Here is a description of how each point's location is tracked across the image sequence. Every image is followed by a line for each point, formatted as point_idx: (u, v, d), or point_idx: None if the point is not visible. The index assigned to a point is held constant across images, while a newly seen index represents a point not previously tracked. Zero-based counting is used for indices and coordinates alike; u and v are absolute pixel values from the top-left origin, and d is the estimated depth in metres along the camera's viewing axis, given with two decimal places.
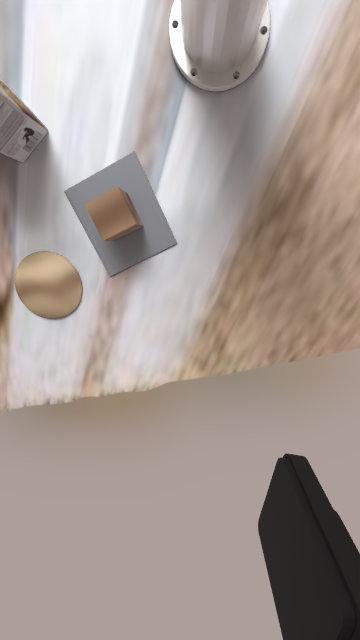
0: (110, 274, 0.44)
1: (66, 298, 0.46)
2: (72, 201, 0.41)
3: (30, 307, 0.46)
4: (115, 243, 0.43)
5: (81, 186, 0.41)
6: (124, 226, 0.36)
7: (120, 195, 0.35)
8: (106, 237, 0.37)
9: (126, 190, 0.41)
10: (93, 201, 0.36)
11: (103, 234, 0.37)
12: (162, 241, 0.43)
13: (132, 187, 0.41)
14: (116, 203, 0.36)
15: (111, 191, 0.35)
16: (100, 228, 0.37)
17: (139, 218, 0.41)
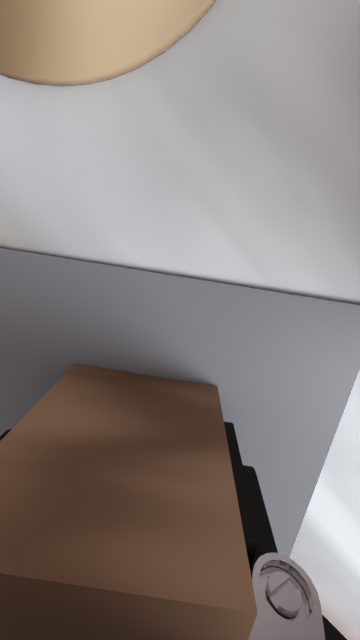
0: None
1: None
2: (325, 311, 0.09)
3: None
4: (63, 355, 0.09)
5: (336, 384, 0.09)
6: None
7: None
8: None
9: None
10: None
11: None
12: None
13: None
14: None
15: None
16: (3, 595, 0.04)
17: None
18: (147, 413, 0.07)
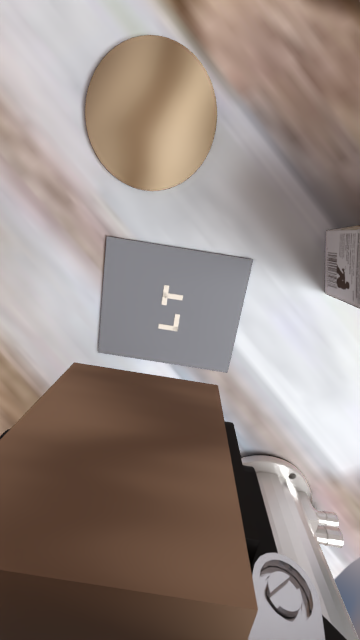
0: (109, 239, 0.26)
1: (113, 135, 0.23)
2: (234, 260, 0.26)
3: (135, 44, 0.22)
4: (145, 277, 0.27)
5: (241, 287, 0.27)
6: None
7: None
8: None
9: (196, 336, 0.28)
10: None
11: None
12: (110, 337, 0.29)
13: (195, 345, 0.29)
14: None
15: None
16: (4, 592, 0.04)
17: None
18: (147, 412, 0.07)
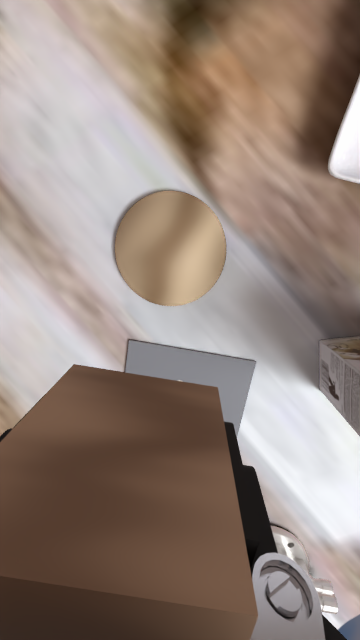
0: (131, 342, 0.30)
1: (137, 263, 0.28)
2: (240, 362, 0.30)
3: (159, 197, 0.26)
4: (161, 373, 0.31)
5: (245, 383, 0.31)
6: None
7: None
8: None
9: None
10: None
11: None
12: None
13: None
14: None
15: None
16: (3, 598, 0.04)
17: None
18: (147, 414, 0.07)
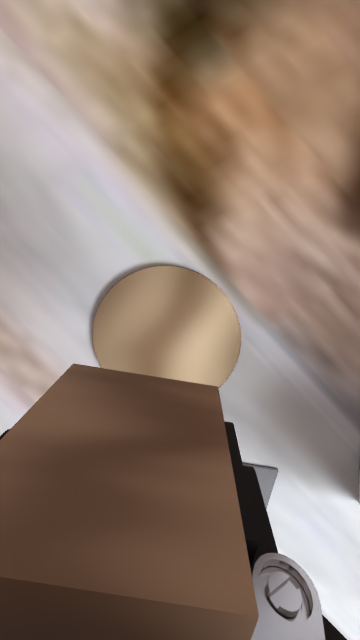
0: None
1: (123, 356, 0.21)
2: (257, 471, 0.23)
3: (150, 274, 0.19)
4: None
5: (264, 494, 0.24)
6: None
7: None
8: None
9: None
10: None
11: None
12: None
13: None
14: None
15: None
16: (1, 598, 0.04)
17: None
18: (147, 414, 0.07)
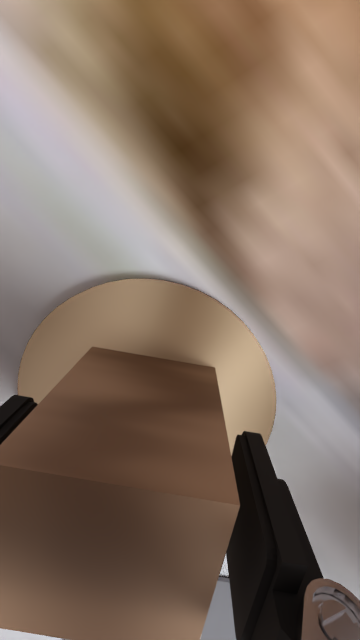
0: None
1: None
2: None
3: (113, 294, 0.10)
4: None
5: None
6: (2, 587, 0.06)
7: None
8: None
9: None
10: (216, 551, 0.06)
11: (19, 485, 0.05)
12: None
13: None
14: (131, 617, 0.06)
15: (193, 633, 0.06)
16: (61, 493, 0.05)
17: None
18: (156, 384, 0.09)
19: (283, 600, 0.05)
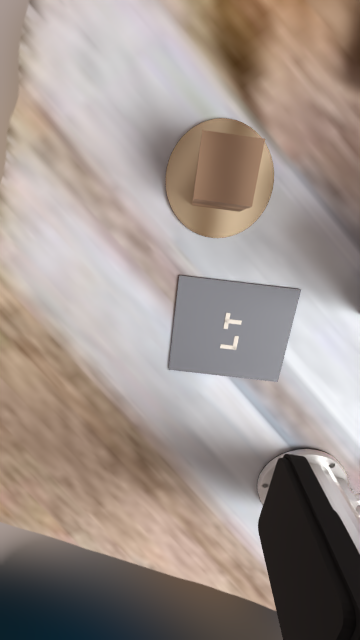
0: (181, 277, 0.31)
1: (187, 196, 0.29)
2: (285, 291, 0.32)
3: (209, 125, 0.27)
4: (210, 307, 0.32)
5: (290, 312, 0.32)
6: (199, 179, 0.23)
7: (239, 202, 0.23)
8: (203, 139, 0.22)
9: (251, 353, 0.34)
10: (259, 156, 0.22)
11: (210, 137, 0.22)
12: (179, 357, 0.34)
13: (250, 360, 0.34)
14: (234, 188, 0.23)
15: (252, 193, 0.23)
16: (220, 139, 0.22)
17: (203, 206, 0.28)
18: None
19: None
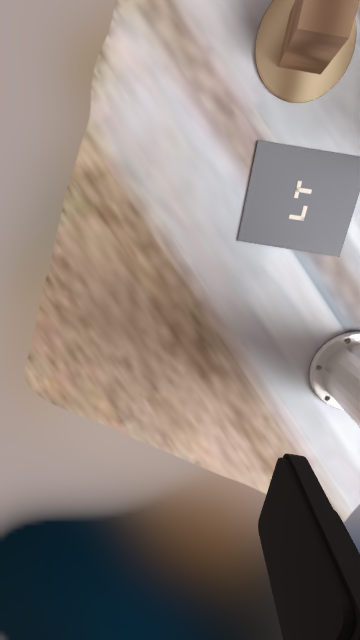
0: (259, 142, 0.34)
1: (275, 57, 0.31)
2: (355, 159, 0.34)
3: None
4: (283, 174, 0.35)
5: (358, 181, 0.35)
6: (305, 8, 0.25)
7: (338, 33, 0.26)
8: None
9: (317, 225, 0.36)
10: None
11: None
12: (249, 227, 0.37)
13: (316, 233, 0.37)
14: (335, 19, 0.26)
15: (350, 24, 0.26)
16: None
17: (289, 66, 0.31)
18: None
19: None
